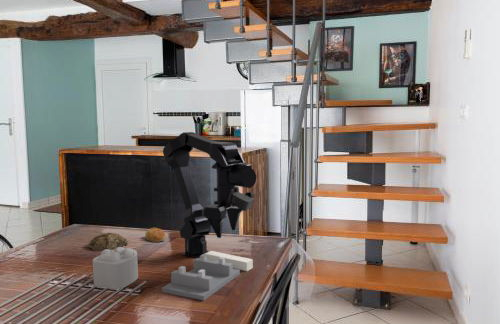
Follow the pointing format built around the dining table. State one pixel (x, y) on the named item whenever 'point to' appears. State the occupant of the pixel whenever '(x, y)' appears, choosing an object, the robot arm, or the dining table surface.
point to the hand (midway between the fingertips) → (226, 233)
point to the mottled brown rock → (107, 242)
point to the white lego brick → (115, 268)
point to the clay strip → (232, 260)
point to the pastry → (155, 235)
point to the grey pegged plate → (201, 278)
